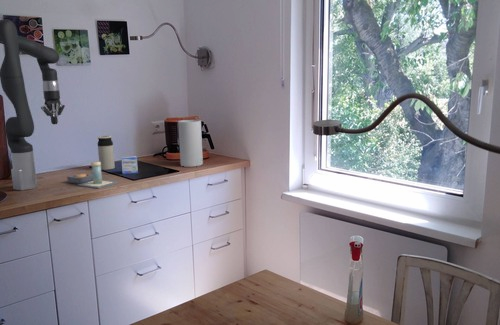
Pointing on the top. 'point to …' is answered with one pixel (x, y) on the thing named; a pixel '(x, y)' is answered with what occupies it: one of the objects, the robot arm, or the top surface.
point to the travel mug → (106, 152)
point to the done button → (80, 175)
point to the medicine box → (129, 165)
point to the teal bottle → (96, 172)
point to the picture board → (103, 184)
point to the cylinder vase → (190, 143)
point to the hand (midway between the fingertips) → (54, 124)
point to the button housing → (80, 178)
